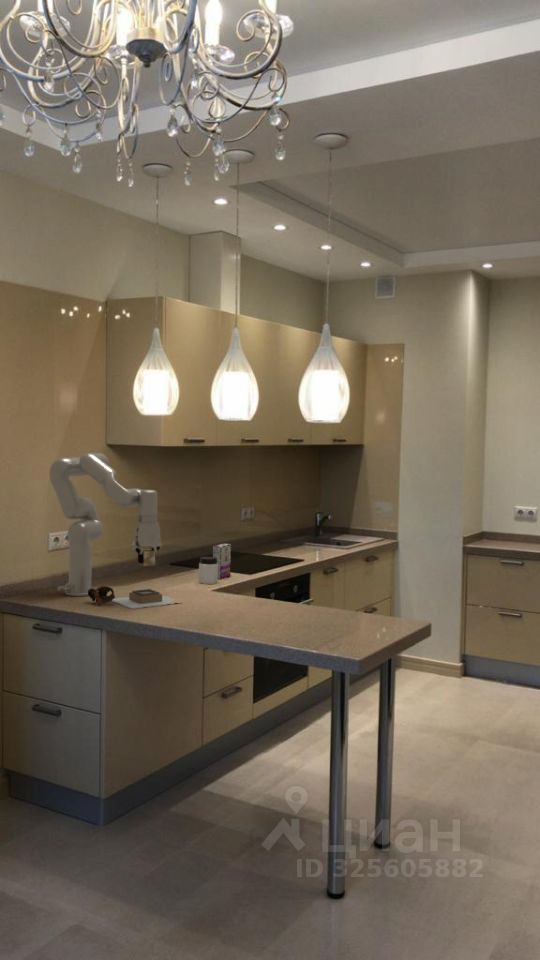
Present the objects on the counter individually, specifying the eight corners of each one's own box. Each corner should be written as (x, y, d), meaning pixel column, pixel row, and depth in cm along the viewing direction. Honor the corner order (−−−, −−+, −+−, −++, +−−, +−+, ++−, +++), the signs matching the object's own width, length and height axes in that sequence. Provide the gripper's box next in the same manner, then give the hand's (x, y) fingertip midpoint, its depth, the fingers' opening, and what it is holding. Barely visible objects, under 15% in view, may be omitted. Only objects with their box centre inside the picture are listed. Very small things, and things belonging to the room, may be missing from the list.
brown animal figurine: (117, 602, 352) (119, 587, 347) (108, 616, 344) (110, 601, 339) (90, 594, 353) (92, 579, 348) (80, 607, 345) (82, 592, 340)
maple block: (144, 565, 348) (144, 551, 348) (138, 564, 352) (138, 550, 352) (155, 565, 351) (155, 550, 351) (148, 563, 355) (149, 549, 355)
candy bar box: (221, 575, 425) (222, 543, 424) (230, 576, 423) (231, 544, 422) (211, 578, 415) (212, 545, 414) (220, 579, 413) (221, 546, 412)
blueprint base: (131, 609, 337) (132, 598, 337) (108, 600, 353) (108, 590, 353) (182, 603, 352) (183, 593, 352) (158, 595, 368) (158, 585, 368)
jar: (211, 584, 398) (212, 559, 397) (196, 583, 401) (196, 558, 400) (219, 582, 406) (220, 557, 405) (204, 580, 409) (205, 556, 408)
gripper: (134, 521, 343) (133, 565, 343) (170, 519, 353) (169, 562, 354) (125, 519, 348) (124, 563, 349) (160, 517, 359) (159, 560, 360)
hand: (146, 562), depth 352 cm, fingers closed on maple block, 5 cm apart
